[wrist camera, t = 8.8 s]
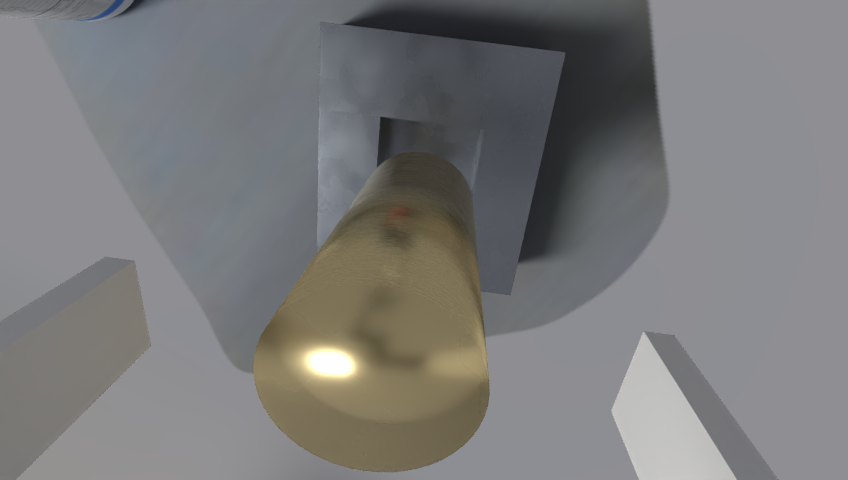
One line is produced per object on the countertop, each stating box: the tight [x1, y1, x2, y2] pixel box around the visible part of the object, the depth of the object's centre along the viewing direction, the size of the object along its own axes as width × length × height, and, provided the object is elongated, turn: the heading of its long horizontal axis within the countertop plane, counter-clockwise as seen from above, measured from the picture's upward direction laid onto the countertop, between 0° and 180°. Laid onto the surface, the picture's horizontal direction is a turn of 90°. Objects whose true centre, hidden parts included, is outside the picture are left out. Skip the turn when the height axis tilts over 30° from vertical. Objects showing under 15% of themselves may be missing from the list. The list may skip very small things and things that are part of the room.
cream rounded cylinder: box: [253, 151, 489, 472], centre depth 16 cm, size 6×6×13 cm
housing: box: [317, 22, 566, 295], centre depth 30 cm, size 16×14×4 cm
